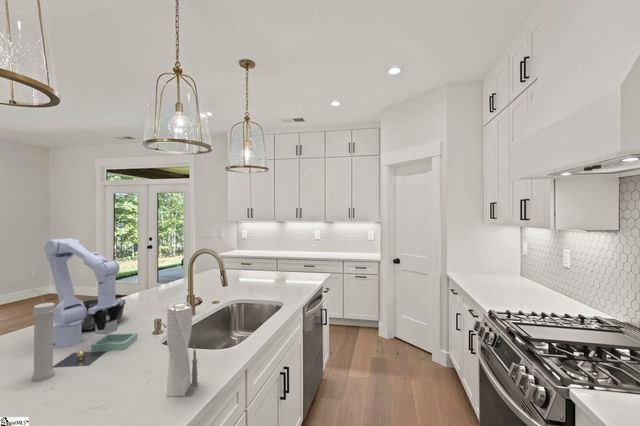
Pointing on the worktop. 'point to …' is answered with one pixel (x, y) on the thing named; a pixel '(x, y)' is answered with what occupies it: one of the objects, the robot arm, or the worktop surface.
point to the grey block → (107, 326)
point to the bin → (104, 346)
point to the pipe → (43, 341)
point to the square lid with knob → (80, 359)
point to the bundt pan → (89, 321)
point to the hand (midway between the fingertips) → (106, 327)
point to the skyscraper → (180, 351)
